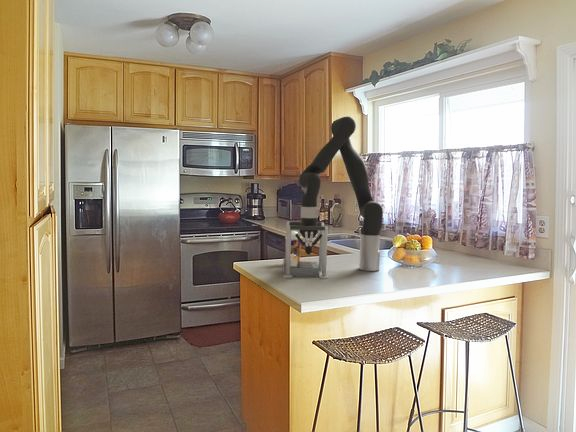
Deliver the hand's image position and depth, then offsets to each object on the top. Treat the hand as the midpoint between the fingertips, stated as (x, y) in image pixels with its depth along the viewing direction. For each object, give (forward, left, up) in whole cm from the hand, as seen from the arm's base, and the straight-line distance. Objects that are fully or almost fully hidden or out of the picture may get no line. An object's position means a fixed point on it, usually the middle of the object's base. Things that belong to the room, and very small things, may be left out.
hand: (308, 254), depth 205 cm
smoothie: (+6, -18, -9) cm, 21 cm away
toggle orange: (+6, 0, -5) cm, 8 cm away
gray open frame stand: (+1, 0, -9) cm, 9 cm away
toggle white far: (+7, -5, -5) cm, 10 cm away
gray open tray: (+3, 0, -9) cm, 10 cm away
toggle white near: (+7, +5, -5) cm, 10 cm away
